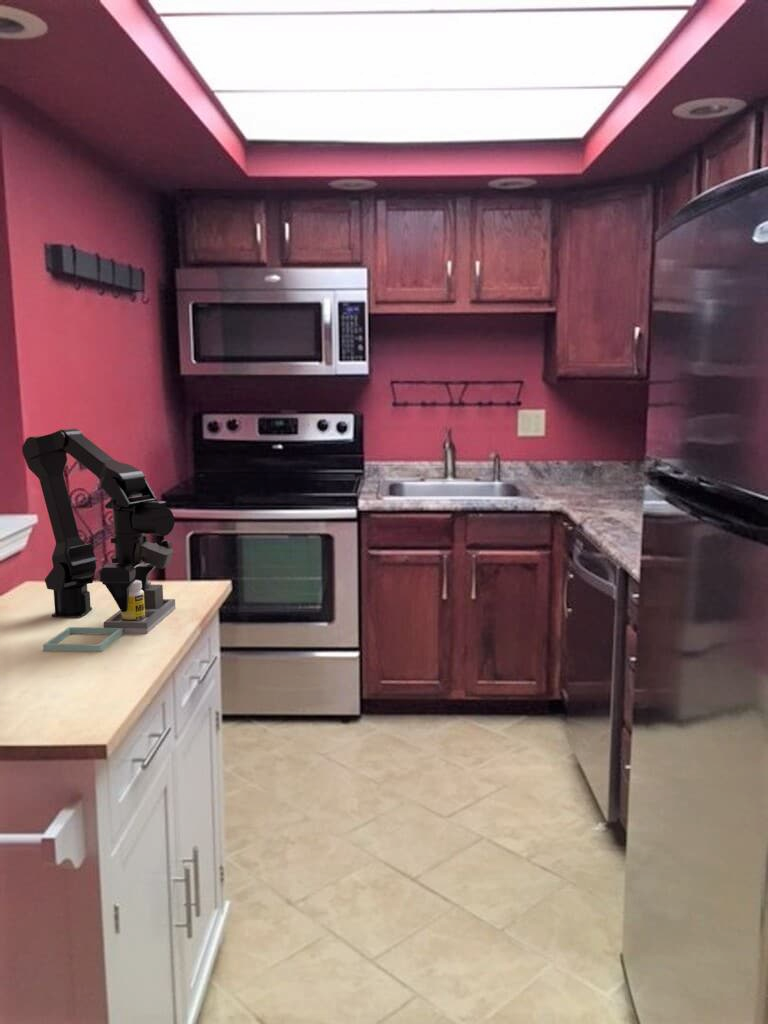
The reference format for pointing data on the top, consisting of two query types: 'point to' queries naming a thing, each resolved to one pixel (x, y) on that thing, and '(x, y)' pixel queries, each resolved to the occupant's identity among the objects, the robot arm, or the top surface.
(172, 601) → the grey socket tray
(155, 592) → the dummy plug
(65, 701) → the top surface
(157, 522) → the robot arm
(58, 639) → the green square frame
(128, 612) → the supplement bottle
